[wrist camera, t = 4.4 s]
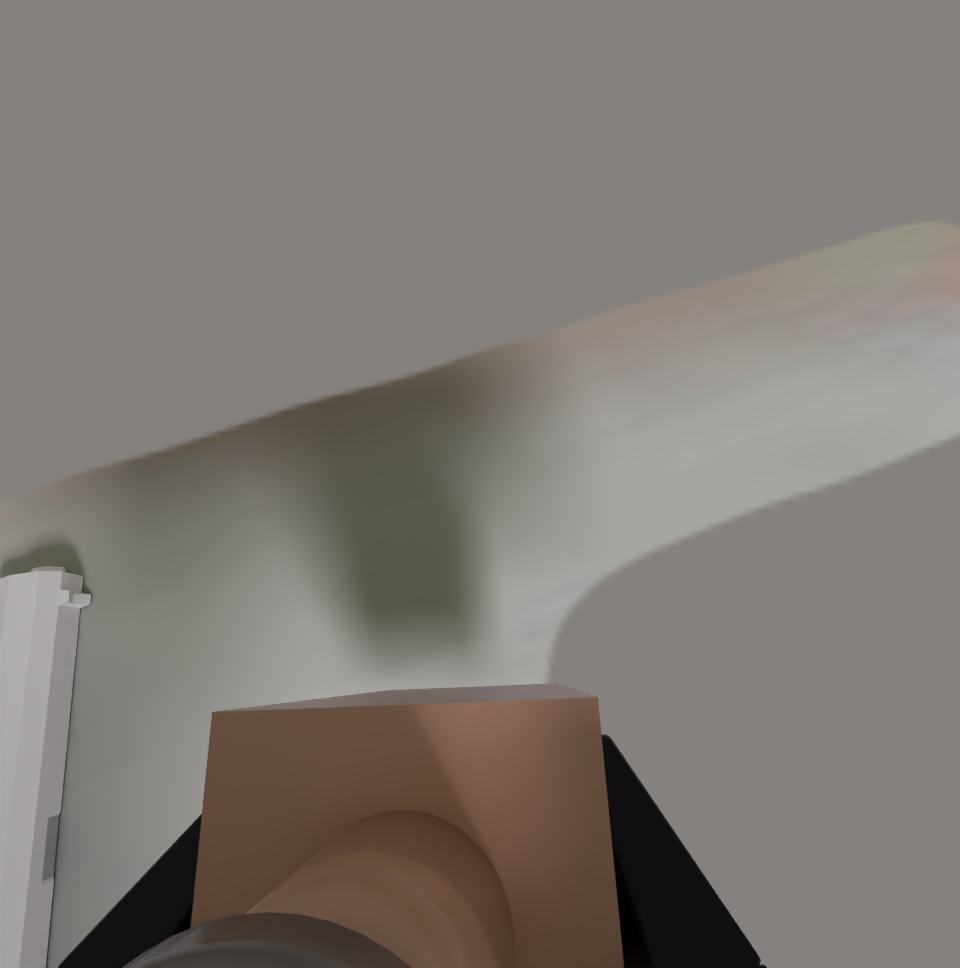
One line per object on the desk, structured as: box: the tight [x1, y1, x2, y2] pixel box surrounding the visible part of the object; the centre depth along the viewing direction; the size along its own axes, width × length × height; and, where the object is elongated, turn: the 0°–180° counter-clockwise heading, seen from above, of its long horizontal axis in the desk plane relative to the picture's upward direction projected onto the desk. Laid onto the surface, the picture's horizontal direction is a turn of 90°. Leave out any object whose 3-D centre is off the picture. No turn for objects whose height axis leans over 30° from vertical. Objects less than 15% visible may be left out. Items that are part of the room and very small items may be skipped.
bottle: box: [122, 683, 624, 968], centre depth 8 cm, size 5×5×14 cm
